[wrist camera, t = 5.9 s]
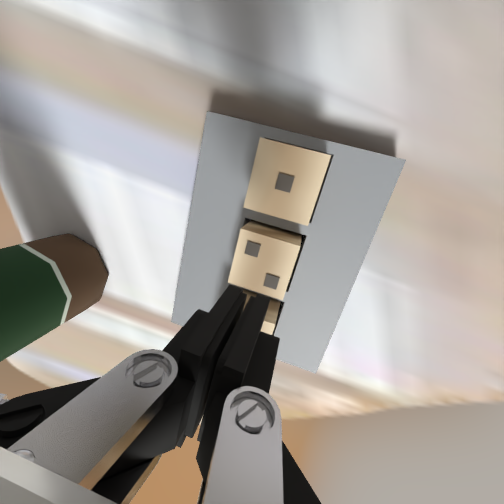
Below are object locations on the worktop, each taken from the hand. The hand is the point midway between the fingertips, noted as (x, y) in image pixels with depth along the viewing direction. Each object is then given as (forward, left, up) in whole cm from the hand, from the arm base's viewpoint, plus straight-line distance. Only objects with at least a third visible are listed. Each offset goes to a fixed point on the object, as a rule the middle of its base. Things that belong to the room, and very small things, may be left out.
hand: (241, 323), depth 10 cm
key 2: (0, 0, -11) cm, 11 cm away
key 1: (0, -5, -10) cm, 12 cm away
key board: (0, 0, -12) cm, 12 cm away
